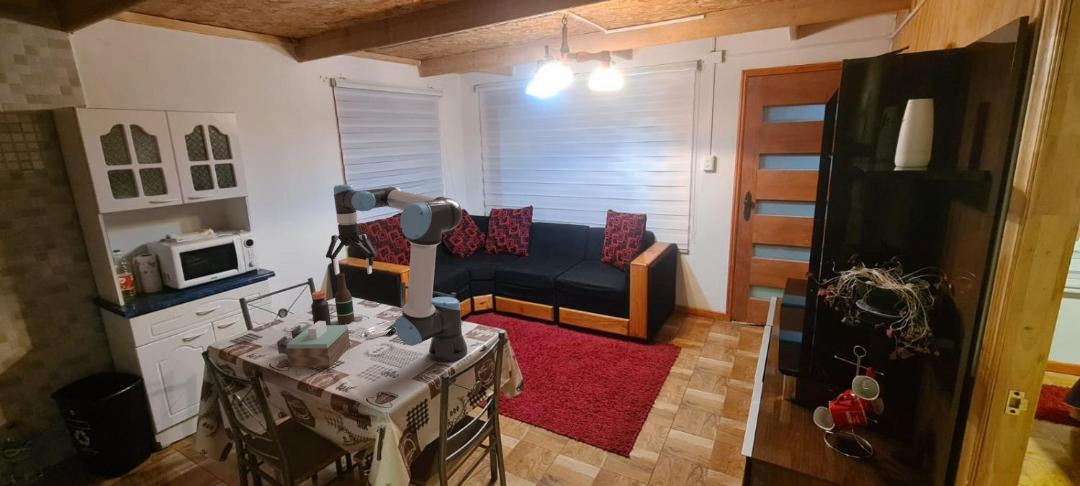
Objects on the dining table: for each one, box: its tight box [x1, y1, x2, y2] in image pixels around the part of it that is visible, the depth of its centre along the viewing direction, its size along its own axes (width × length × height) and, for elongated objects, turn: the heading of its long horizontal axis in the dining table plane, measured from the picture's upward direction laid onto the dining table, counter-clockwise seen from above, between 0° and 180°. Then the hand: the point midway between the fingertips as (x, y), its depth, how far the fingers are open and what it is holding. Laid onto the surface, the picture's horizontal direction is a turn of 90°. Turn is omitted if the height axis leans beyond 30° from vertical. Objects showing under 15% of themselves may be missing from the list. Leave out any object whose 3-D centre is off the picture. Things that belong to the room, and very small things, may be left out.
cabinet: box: [276, 325, 351, 369], centre depth 187 cm, size 20×18×10 cm
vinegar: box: [310, 290, 332, 325], centre depth 206 cm, size 7×7×20 cm
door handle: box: [360, 319, 396, 341], centre depth 214 cm, size 3×10×25 cm
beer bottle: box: [334, 272, 355, 325], centre depth 221 cm, size 8×8×24 cm
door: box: [283, 321, 349, 348], centre depth 186 cm, size 18×18×6 cm
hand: (353, 273), depth 194 cm, fingers open, 13 cm apart
